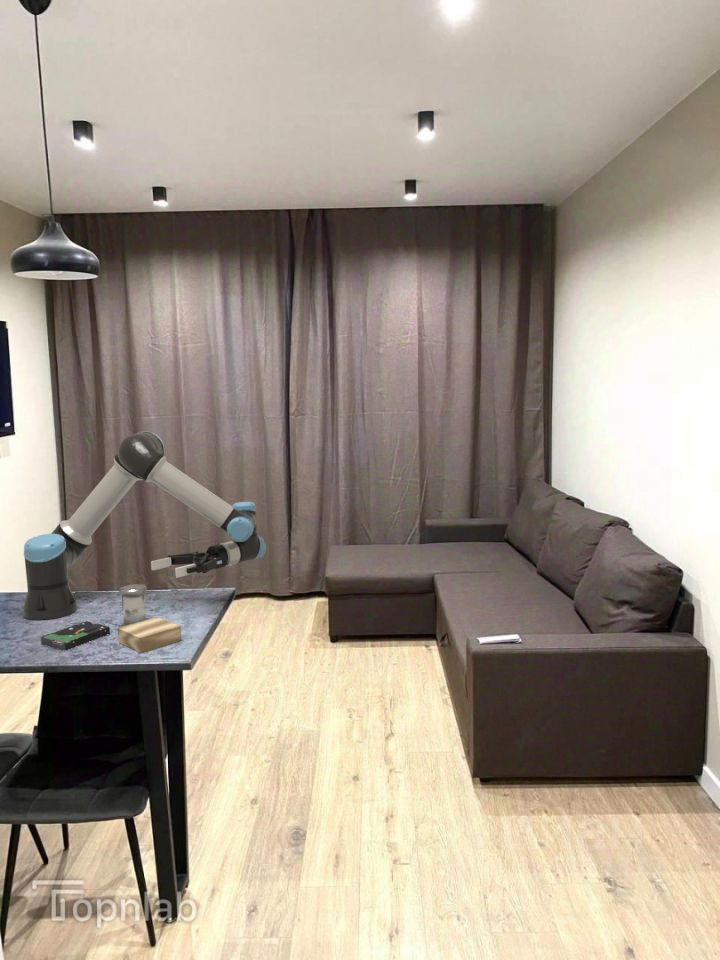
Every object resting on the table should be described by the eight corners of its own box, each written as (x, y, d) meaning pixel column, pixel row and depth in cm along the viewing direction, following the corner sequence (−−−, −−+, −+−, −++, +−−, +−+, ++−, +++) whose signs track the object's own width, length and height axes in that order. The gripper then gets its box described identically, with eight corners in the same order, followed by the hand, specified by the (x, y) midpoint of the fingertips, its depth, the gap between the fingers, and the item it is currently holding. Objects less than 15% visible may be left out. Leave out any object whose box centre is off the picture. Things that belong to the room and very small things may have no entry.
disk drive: (86, 630, 206) (40, 646, 193) (85, 620, 206) (39, 636, 193) (111, 635, 201) (65, 652, 188) (110, 626, 200) (64, 642, 188)
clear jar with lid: (116, 623, 209) (114, 588, 208) (140, 617, 214) (138, 582, 213) (129, 629, 204) (127, 593, 202) (153, 622, 209) (151, 587, 208)
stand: (118, 642, 194) (117, 627, 193) (158, 630, 202) (157, 616, 202) (141, 653, 185) (140, 638, 185) (181, 640, 194) (180, 626, 193)
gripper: (247, 572, 221) (187, 588, 206) (201, 561, 238) (143, 575, 223) (245, 549, 220) (185, 563, 205) (199, 539, 237) (141, 551, 222)
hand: (163, 569), depth 214 cm, fingers open, 13 cm apart
